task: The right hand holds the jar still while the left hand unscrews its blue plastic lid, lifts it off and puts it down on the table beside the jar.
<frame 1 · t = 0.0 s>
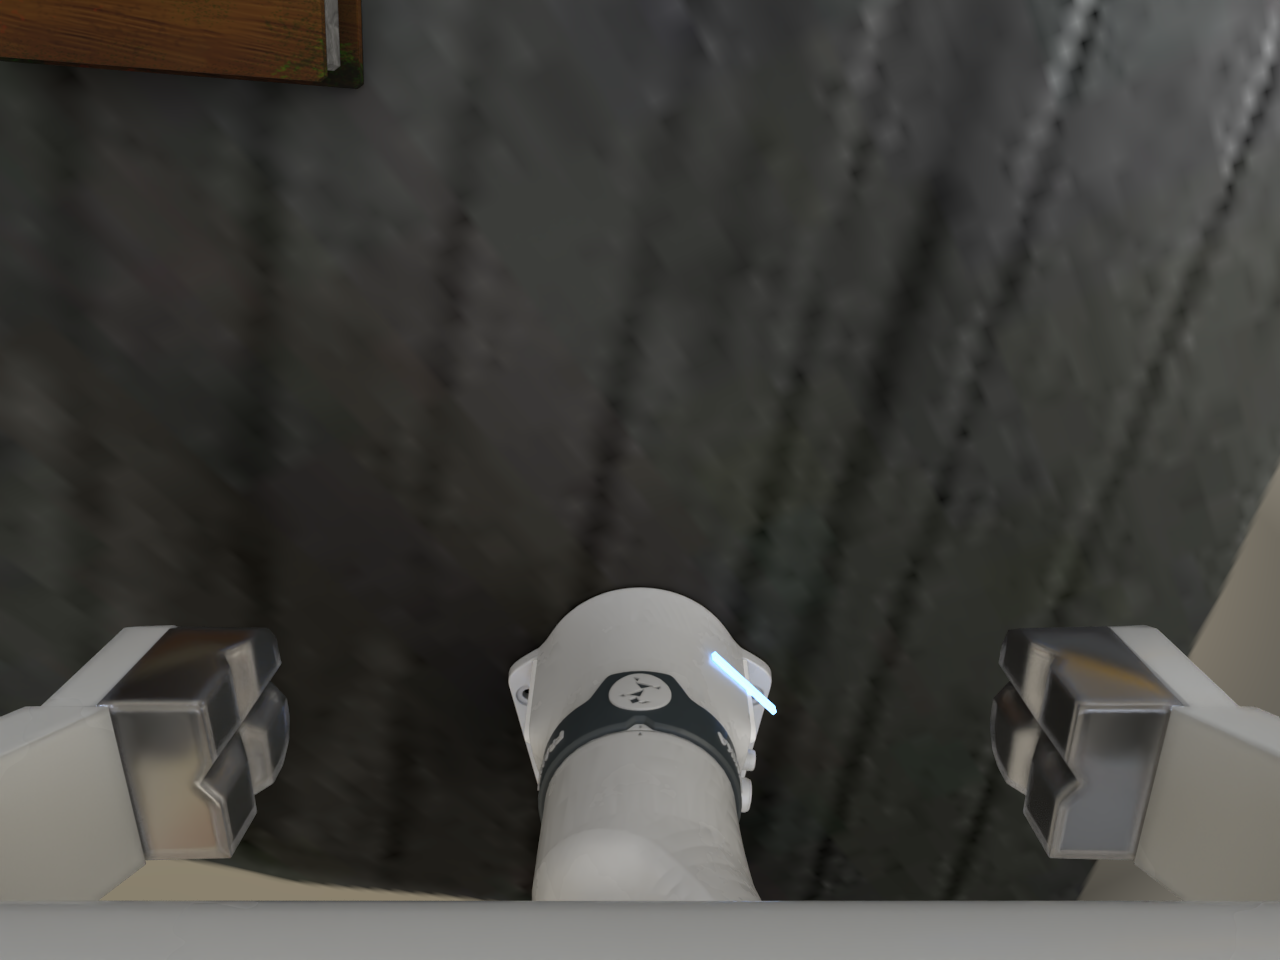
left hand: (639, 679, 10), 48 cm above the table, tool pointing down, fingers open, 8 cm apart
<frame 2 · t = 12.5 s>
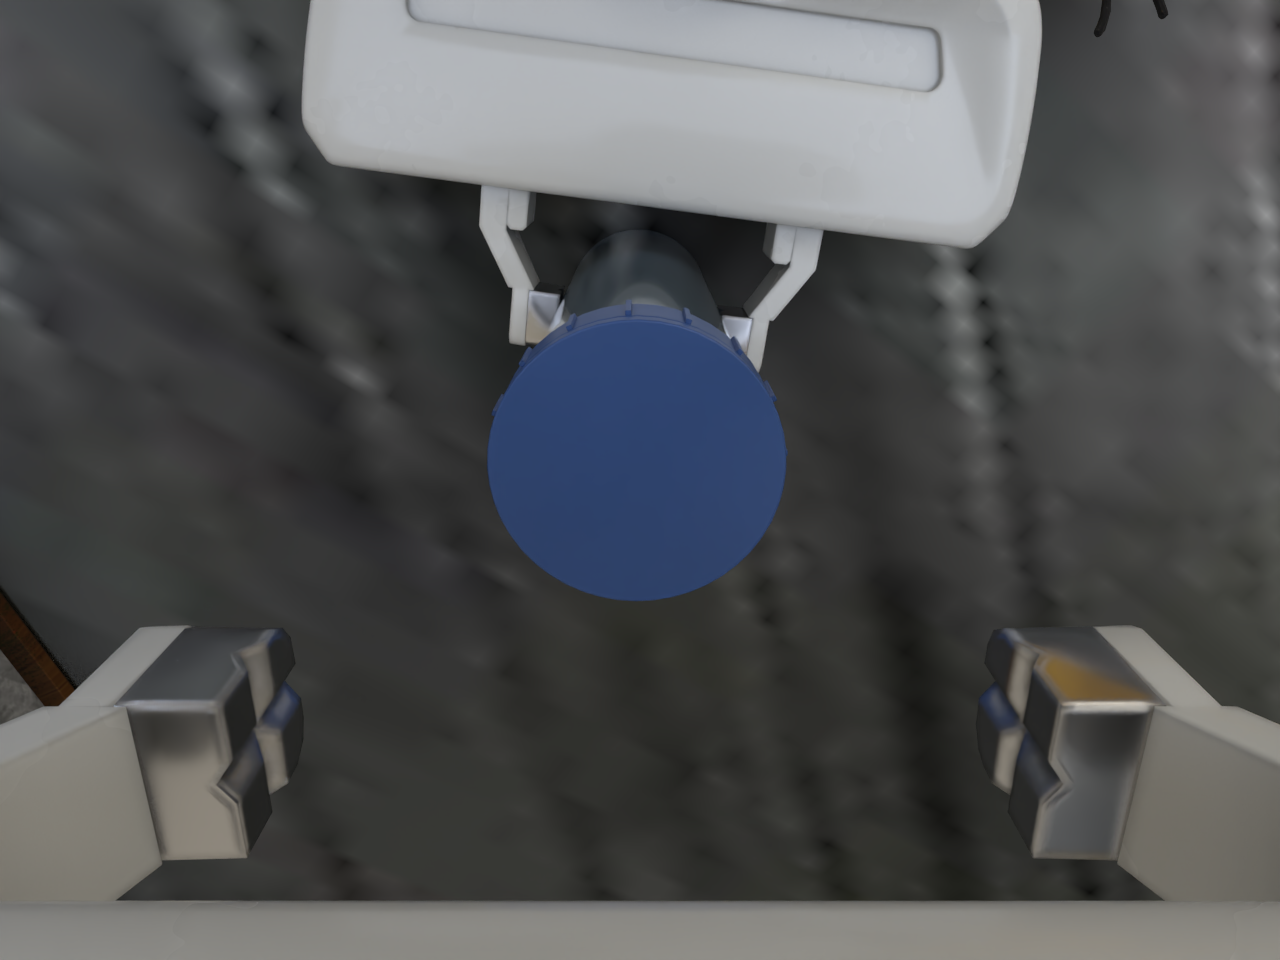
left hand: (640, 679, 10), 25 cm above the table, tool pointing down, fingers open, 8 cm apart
right hand: (635, 356, 29), fingers closed on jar, 5 cm apart
lid: (636, 462, 17), point 18 cm above the table, screwed on, not yet turned
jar: (638, 299, 34), on the table, touching right hand
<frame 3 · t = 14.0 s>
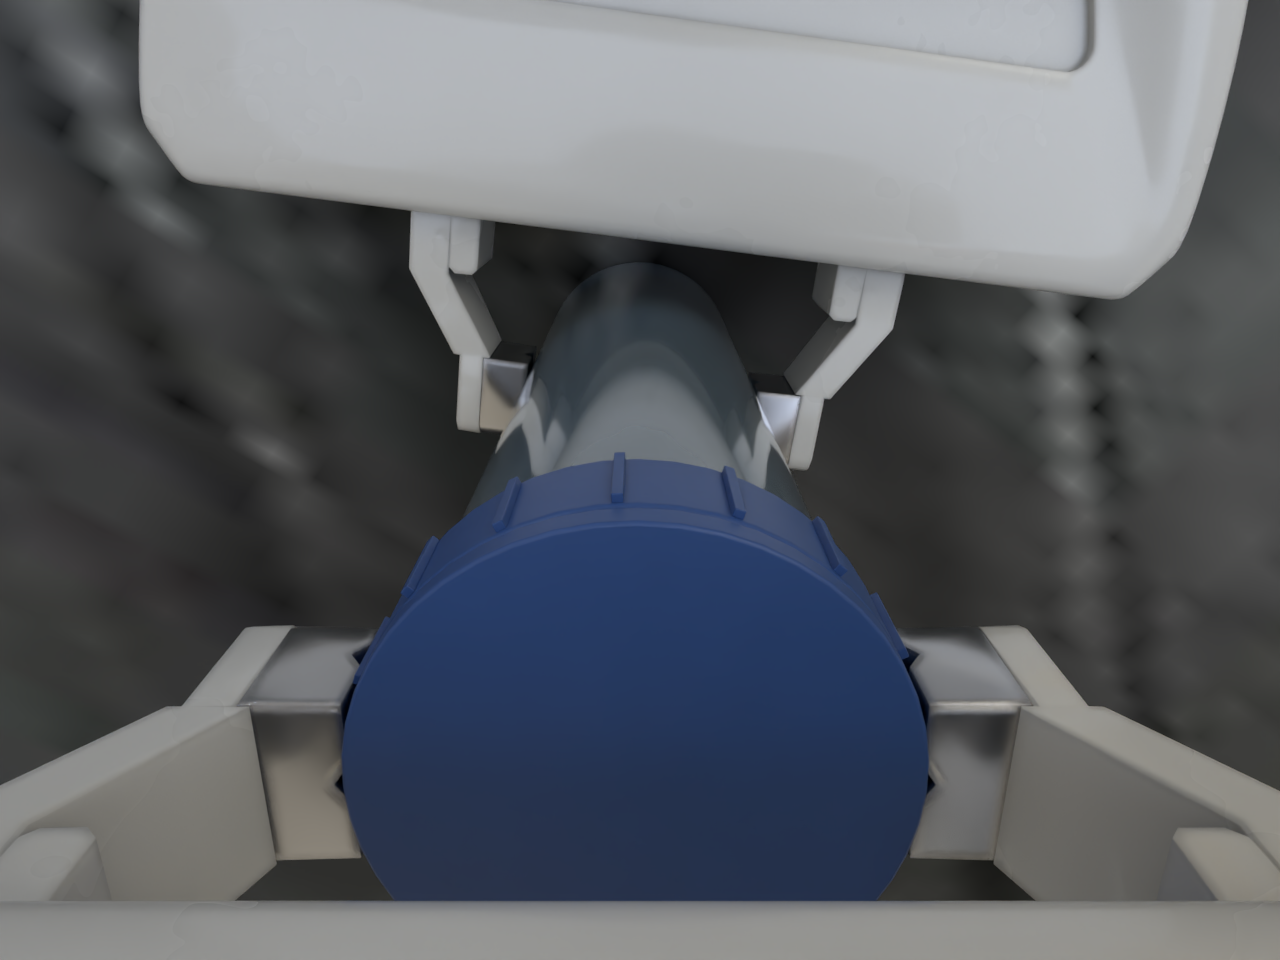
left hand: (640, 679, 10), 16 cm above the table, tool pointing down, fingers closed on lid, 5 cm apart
right hand: (635, 443, 21), fingers closed on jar, 5 cm apart
lid: (635, 767, 9), point 18 cm above the table, screwed on, not yet turned, touching left hand
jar: (638, 352, 26), on the table, touching right hand
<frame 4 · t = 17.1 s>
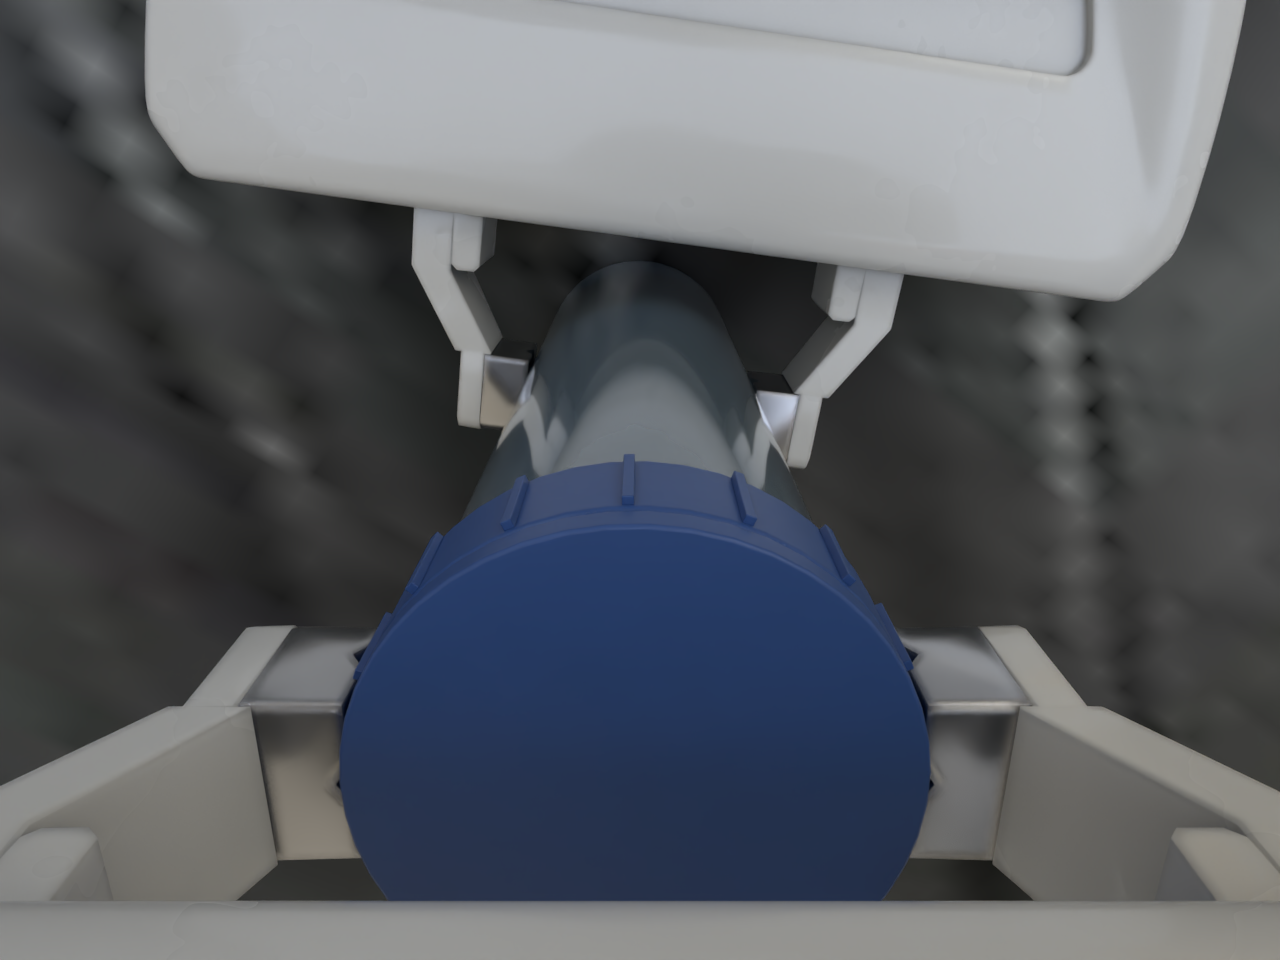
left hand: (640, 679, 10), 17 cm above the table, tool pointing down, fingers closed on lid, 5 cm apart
right hand: (634, 441, 21), fingers closed on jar, 5 cm apart
lid: (635, 771, 9), point 18 cm above the table, turned 66° so far, risen 0.2 cm, still on its thread, touching left hand
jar: (638, 350, 26), on the table, touching right hand
when the left hand's fingers open (2 cm above the table, at t = 25.6 s): lid drops 2 cm, point 1 cm above the table.
when the right hand's fingers open (5 cm above the table, at t = 26.7 s): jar stays where it is, on the table.
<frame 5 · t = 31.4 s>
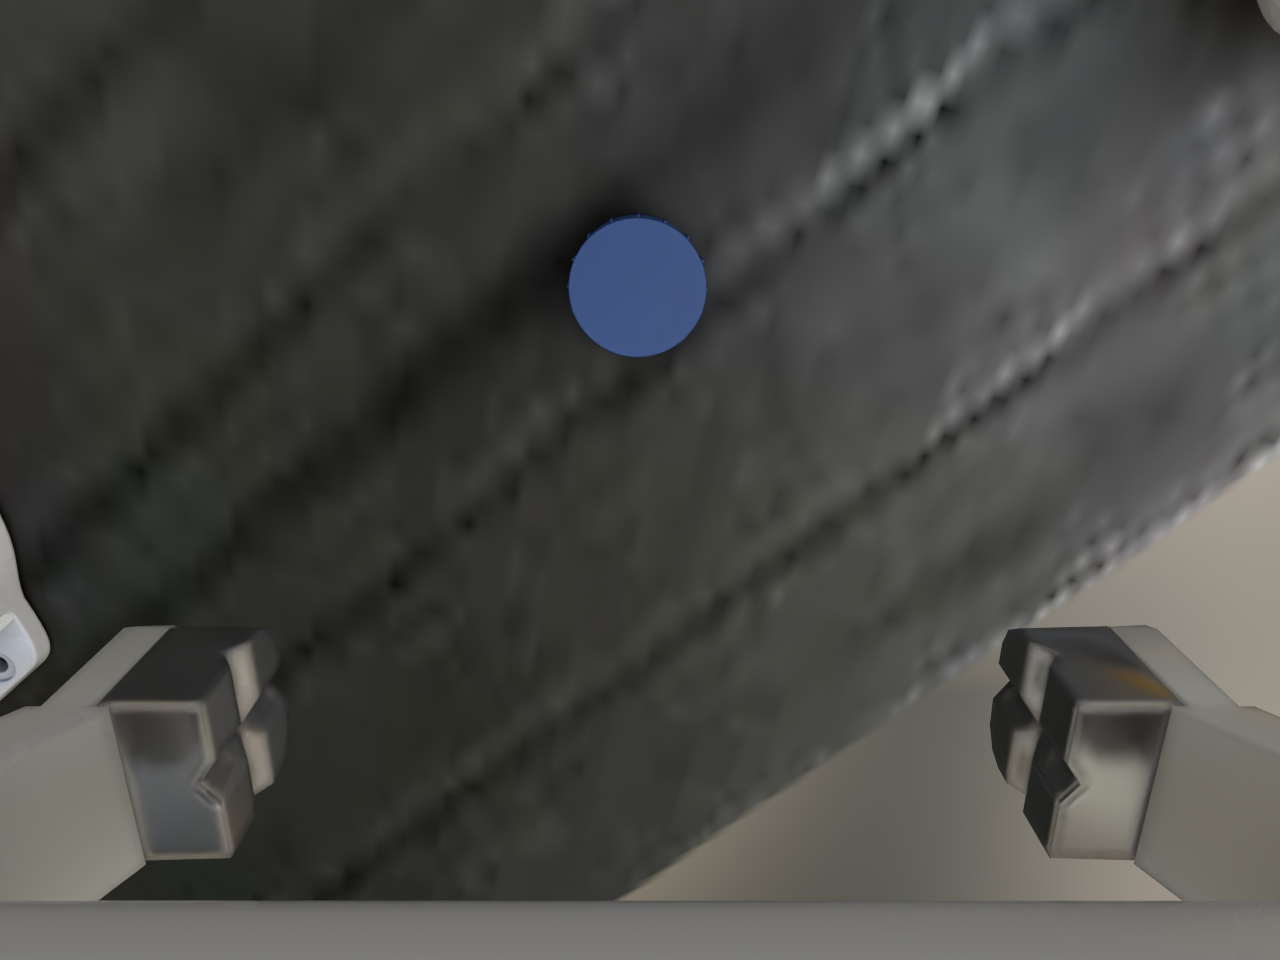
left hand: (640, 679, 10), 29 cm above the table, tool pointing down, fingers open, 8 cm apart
lid: (637, 288, 36), point 1 cm above the table, off its thread
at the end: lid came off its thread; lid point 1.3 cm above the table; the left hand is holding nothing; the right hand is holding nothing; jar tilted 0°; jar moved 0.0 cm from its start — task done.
